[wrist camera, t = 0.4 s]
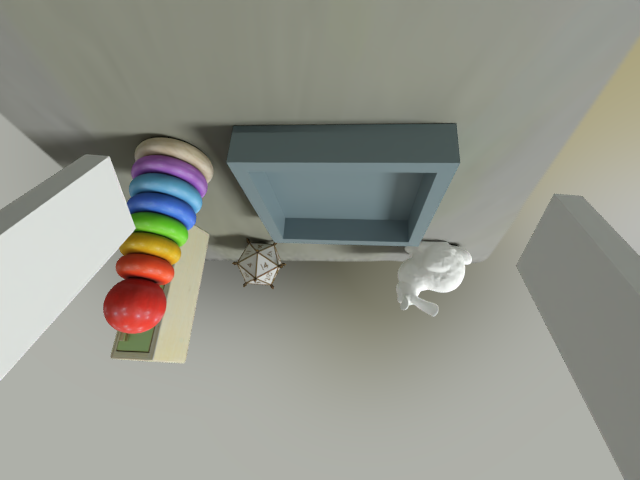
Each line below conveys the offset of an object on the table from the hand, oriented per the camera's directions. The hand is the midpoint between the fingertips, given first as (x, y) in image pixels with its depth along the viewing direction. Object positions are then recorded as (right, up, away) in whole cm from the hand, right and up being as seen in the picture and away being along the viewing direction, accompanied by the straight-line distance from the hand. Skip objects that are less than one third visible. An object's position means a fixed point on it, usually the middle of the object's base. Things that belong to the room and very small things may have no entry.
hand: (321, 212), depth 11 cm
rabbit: (+18, -2, +48) cm, 51 cm away
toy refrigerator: (-24, +1, +46) cm, 52 cm away
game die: (-10, -1, +51) cm, 52 cm away
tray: (+3, +6, +29) cm, 30 cm away
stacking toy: (-16, +8, +27) cm, 32 cm away
